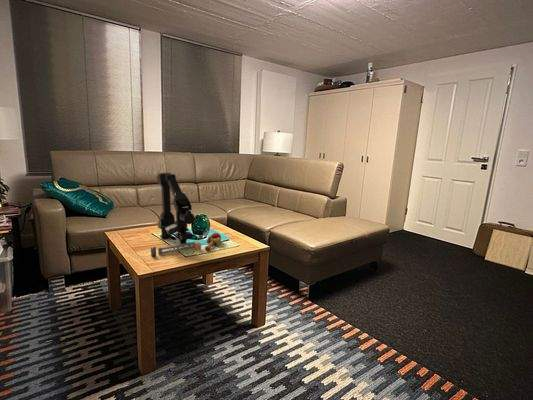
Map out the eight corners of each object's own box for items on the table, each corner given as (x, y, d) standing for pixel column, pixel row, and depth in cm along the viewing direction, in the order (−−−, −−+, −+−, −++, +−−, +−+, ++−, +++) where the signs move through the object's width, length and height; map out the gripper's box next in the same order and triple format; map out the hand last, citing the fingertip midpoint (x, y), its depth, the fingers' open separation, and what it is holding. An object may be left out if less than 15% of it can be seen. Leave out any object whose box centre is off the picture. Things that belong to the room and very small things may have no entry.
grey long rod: (158, 253, 151) (158, 247, 150) (195, 246, 162) (195, 241, 161) (159, 254, 149) (158, 248, 149) (196, 247, 160) (196, 242, 160)
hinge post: (150, 255, 149) (150, 247, 148) (155, 254, 150) (155, 246, 149) (151, 257, 147) (151, 248, 146) (156, 256, 148) (156, 248, 147)
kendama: (215, 254, 157) (224, 239, 174) (213, 244, 155) (222, 230, 172) (202, 255, 158) (212, 240, 175) (199, 245, 156) (210, 231, 173)
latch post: (193, 249, 159) (193, 242, 159) (199, 248, 161) (198, 241, 160) (195, 251, 157) (195, 244, 156) (201, 250, 159) (200, 243, 158)
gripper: (161, 217, 160) (162, 243, 163) (171, 226, 145) (172, 255, 148) (181, 214, 166) (182, 240, 169) (193, 223, 151) (193, 251, 154)
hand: (182, 246), depth 160 cm, fingers closed
